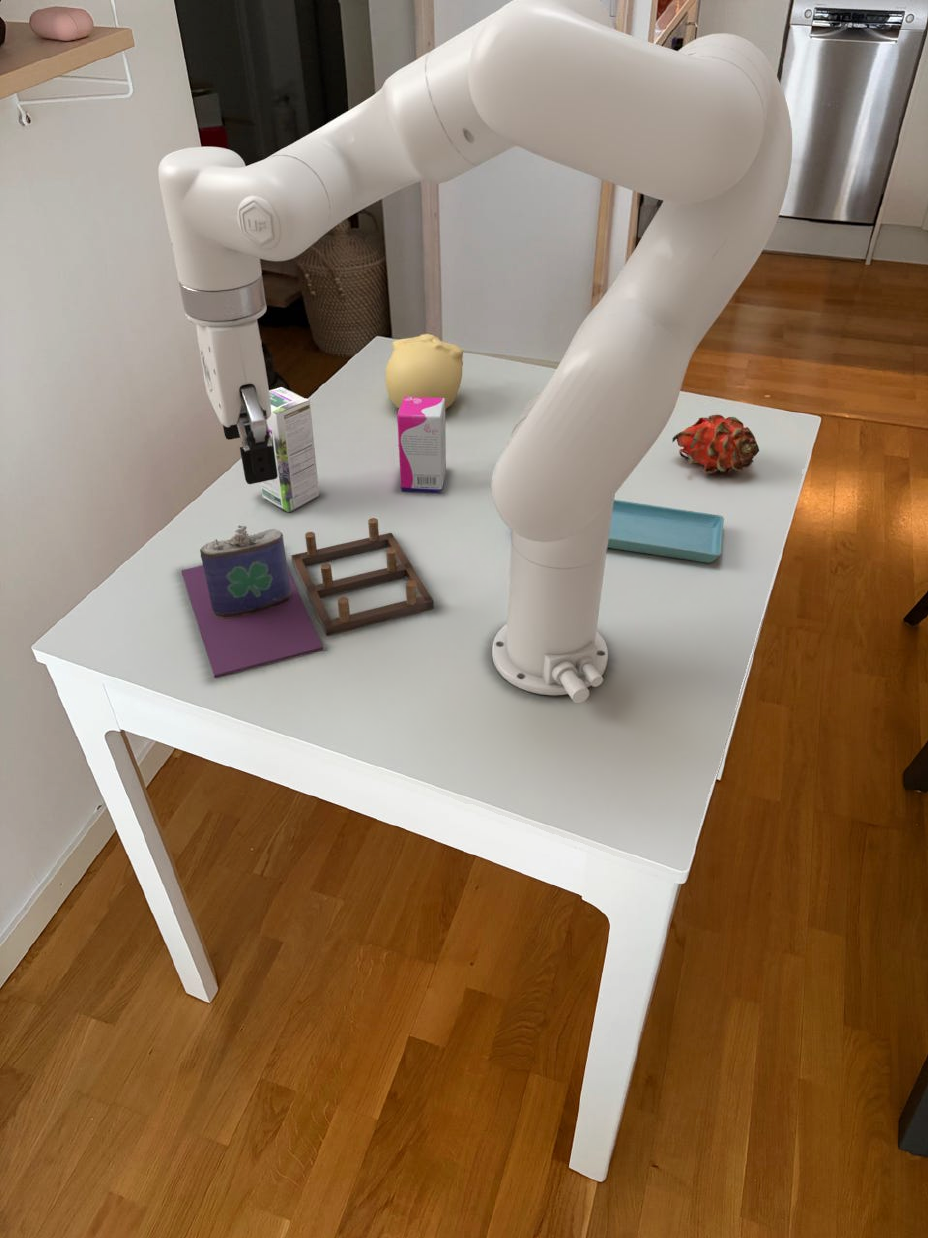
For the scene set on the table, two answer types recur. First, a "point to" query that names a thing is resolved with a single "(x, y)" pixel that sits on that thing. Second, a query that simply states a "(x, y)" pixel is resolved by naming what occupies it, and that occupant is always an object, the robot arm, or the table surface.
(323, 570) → the dish rack
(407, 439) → the supplement box
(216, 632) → the mat
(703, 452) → the dragon fruit
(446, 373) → the sculpture
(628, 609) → the table surface
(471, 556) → the table surface
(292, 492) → the syrup box
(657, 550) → the teal serving tray
